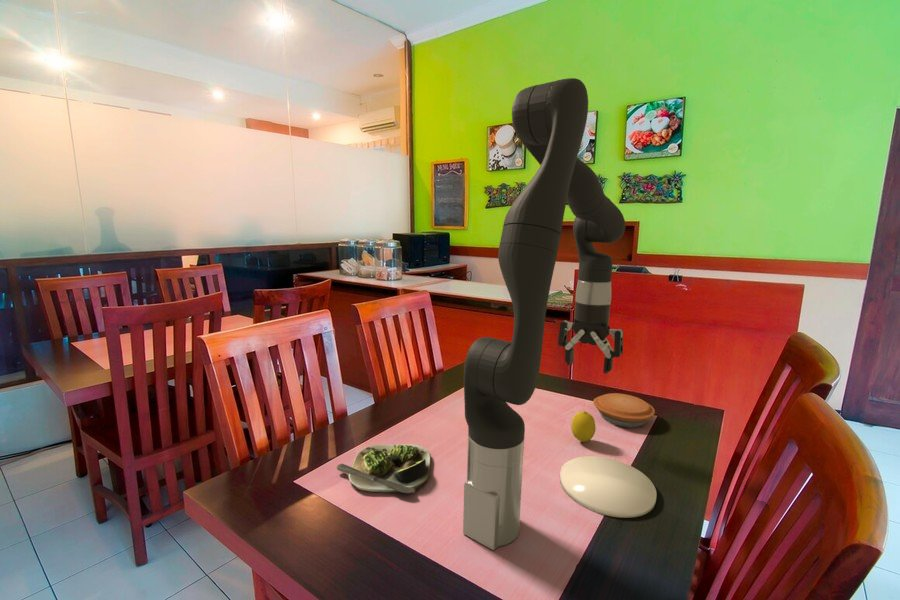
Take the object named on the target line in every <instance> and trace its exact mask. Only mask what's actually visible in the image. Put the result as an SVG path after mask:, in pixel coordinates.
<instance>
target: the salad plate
mask: <svg viewBox="0 0 900 600" xmlns="http://www.w3.org/2000/svg"><path fill="white" fill-rule="evenodd" d="M431 463H432V457H431V452H430V451H429V450H428V449H427V448H425V447H424V446H421V445H420V444H413V443H412V444H411V443H410V444H409V443H407V444H405V443H404V444H388V443H387V444H386V443H385V444H378V443H377V444H371V445H369V446H365V447H364V448H362V449H361V450H359V451H358V452H357V453H356V456H355V458H354V460H353V463H352V465H351V466H349V465H347V464H344V463H340V464H337V466H336V470H337V471H338V472H341V473H343V474H346V475H347V476H348V477H347V478H348V481H349V483H351V485H353V486H354V487H356V488H357V489H359V490H361V491H365V492H372V493H373V492H374V493H376V492H377V493H378V492H379V493H395V494H413V493H416V490H419V489H420V488H422V487H423V486H425V484H426V483H427V481H428V480H429V477H430V474H431Z"/></svg>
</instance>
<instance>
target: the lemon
mask: <svg viewBox="0 0 900 600" xmlns="http://www.w3.org/2000/svg"><path fill="white" fill-rule="evenodd" d="M596 427H597V426H596V421H595V418H594V417H593V416H592V414H590V413H589V412H588V411H586V410H583V411H580V412H579V411H578V412H577V413H576V414H574V416H573V418H572V420H571V433H572V434H573V437H574V438H576V439H577V440H578V441H580V443H584V442H588V441H590V440H592V438H594V436H595V434H596V429H597V428H596Z"/></svg>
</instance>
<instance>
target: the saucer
mask: <svg viewBox="0 0 900 600" xmlns="http://www.w3.org/2000/svg"><path fill="white" fill-rule="evenodd" d="M559 475H560V476H559V483H560V485H561V487H562V490H563V491H564V492H565V494H566V495H567V496H568V497H569V498H571V500H573V501H574V502H576V503H577V504H578V505H580V506H582V507H583V508H586V509H587V510H589V511H591V512H594V513H598V514H601V515H604V516H608V517H612V518H620V519H621V518H623V519H625V518H626V519H627V518H632V519H633V518H637V517H642V516H644V515H647V514H648V513H650V512H651V511H652V510H653V509H654V507H655V505H656V502H657V489H656V487H655V485H654V484H653V482H652V481H651V479H650V478H649V477H648V476H646V474H644V473H643V472H642V471H640V470H638V469H637V468H635V467H633V466H631V465H629V464H628V463H625V462H622V461H619V460H616V459H613V458H609V457H605V456H604V457H603V456H596V455H595V456H593V455H587V456H579V457H575V458H572V459H570V460H568V461H566V462H565V463H564V464H563V465H562V467H561V468H560V474H559Z"/></svg>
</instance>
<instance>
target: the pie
mask: <svg viewBox="0 0 900 600" xmlns="http://www.w3.org/2000/svg"><path fill="white" fill-rule="evenodd" d="M592 403H593V405H594V407H596V409H597V411H598V413H599V414H600V416H601V418H602V419H603V420H604V421H606V422H607V423H609V424H612V425H615V426H618V427H623V428H639V427H642V426H644V425H645V424H646V423H647V422H649V420H650V419H652V418H653V417H654V415H655V413H656V410H655V408H654V407H653V405H651V404H650V403H648V402H647V401H645V400H643V399H641V398H640V397H637V396H635V395H634V396H633V395H630V394H625V393H619V392H613V393H610V392H609V393H605V394H602V395H599V396H597V397H595V398H594V399H593V401H592Z"/></svg>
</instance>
